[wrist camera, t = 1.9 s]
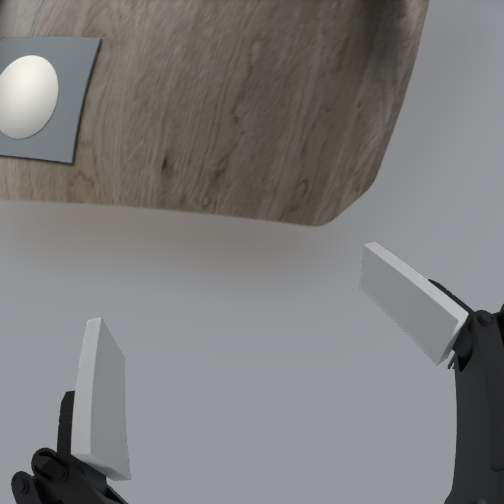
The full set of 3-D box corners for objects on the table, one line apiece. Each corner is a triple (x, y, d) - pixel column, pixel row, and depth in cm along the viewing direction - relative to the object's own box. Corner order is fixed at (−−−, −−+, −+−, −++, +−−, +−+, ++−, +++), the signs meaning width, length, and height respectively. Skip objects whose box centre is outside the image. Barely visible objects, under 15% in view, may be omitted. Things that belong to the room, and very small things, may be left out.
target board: (-9, 41, 14) (-13, 41, 13) (102, 39, 22) (100, 38, 21) (-26, 150, 22) (-29, 153, 21) (73, 161, 29) (70, 163, 29)
